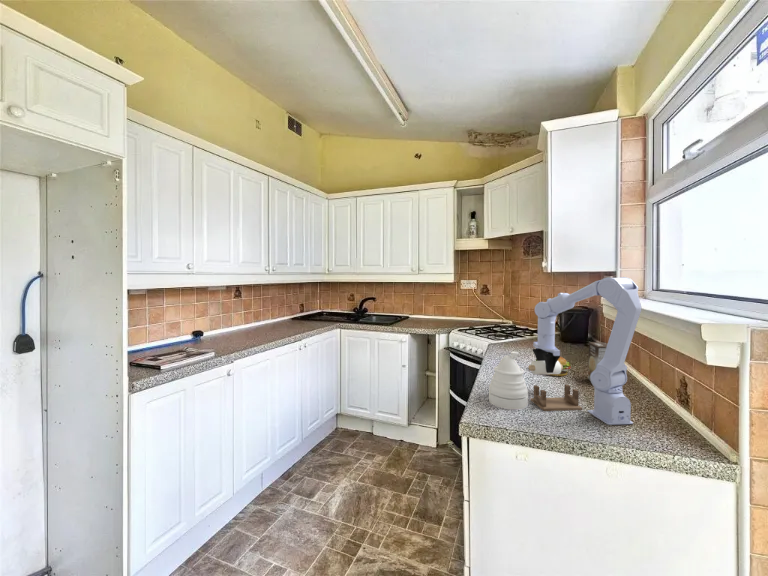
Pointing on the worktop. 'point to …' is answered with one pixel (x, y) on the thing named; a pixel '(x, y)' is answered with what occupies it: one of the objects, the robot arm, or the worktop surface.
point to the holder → (557, 400)
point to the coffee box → (595, 355)
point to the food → (565, 366)
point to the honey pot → (508, 385)
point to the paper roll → (543, 368)
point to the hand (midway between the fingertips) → (545, 370)
